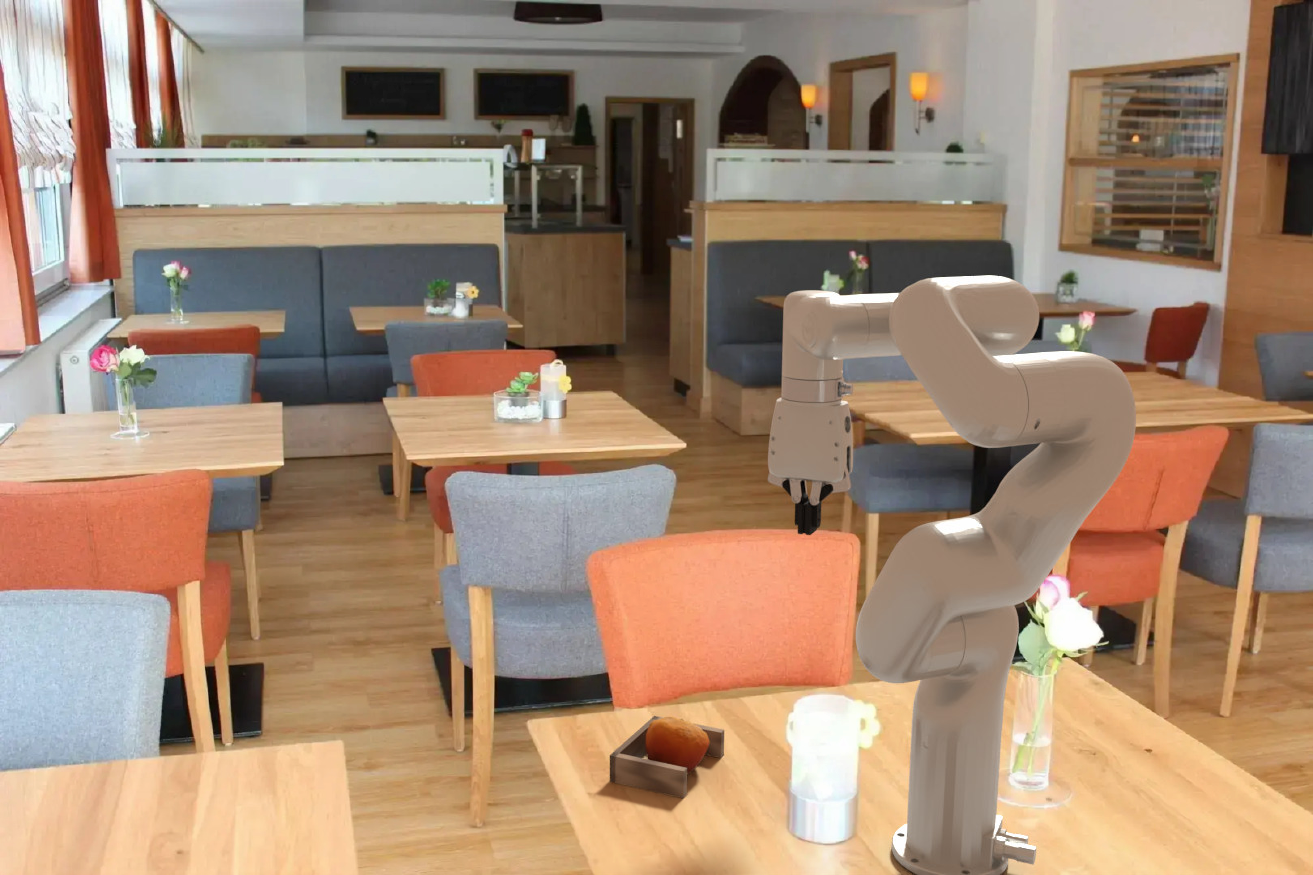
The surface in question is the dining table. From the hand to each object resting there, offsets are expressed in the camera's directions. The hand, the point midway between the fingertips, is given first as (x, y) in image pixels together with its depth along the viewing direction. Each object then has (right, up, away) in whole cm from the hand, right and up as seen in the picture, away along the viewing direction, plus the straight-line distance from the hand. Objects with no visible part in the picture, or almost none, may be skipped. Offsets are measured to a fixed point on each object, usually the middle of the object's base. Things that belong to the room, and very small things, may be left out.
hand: (807, 531), depth 164 cm
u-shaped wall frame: (-18, -30, -1) cm, 35 cm away
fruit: (-17, -30, -1) cm, 35 cm away
